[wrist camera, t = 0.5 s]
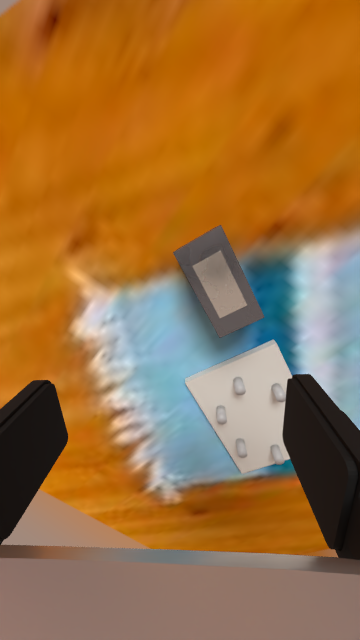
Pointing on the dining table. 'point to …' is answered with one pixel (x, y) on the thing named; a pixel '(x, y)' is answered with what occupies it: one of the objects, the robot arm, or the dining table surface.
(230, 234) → the dining table surface
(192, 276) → the block
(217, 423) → the pin tray
